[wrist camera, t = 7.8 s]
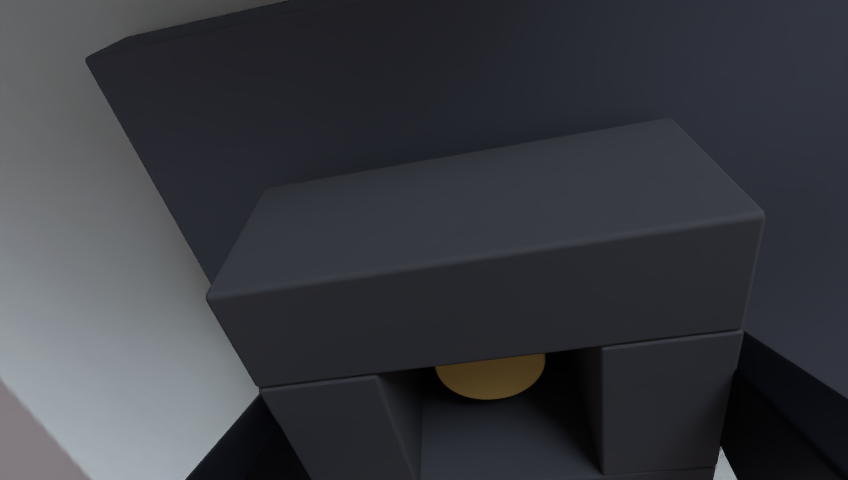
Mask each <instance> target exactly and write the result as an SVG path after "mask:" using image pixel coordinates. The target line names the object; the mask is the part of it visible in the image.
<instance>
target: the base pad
mask: <svg viewBox="0 0 848 480" xmlns="http://www.w3.org/2000/svg"><path fill="white" fill-rule="evenodd" d="M85 62H86V64H87V66H88V68H89V69H90V71H91V73H92V75H93V76H94V78H95V80H96V82H97V83H98V85H99V87H100V89H101V91H102V92H103V94H104V96H105V98H106V99H107V101H108V103H109V105H110V106H111V108H112V110H113V112H114V114H115V115H116V117H117V119H118V121H119V122H120V124H121V126H122V128H123V129H124V131H125V133H126V135H127V137H128V138H129V140H130V142H131V144H132V145H133V147H134V149H135V151H136V152H137V154H138V156H139V158H140V160H141V161H142V163H143V165H144V167H145V168H146V170H147V172H148V174H149V175H150V177H151V179H152V181H153V183H154V184H155V186H156V188H157V190H158V191H159V193H160V195H161V197H162V198H163V200H164V202H165V204H166V206H167V207H168V209H169V211H170V213H171V214H172V216H173V218H174V220H175V221H176V223H177V225H178V227H179V229H180V230H181V232H182V234H183V236H184V237H185V239H186V241H187V243H188V244H189V246H190V248H191V250H192V252H193V253H194V255H195V257H196V259H197V260H198V262H199V264H200V266H201V267H202V269H203V271H204V273H205V274H206V276H207V278H208V280H209V282H210V283H211V285H212V283H213V281H214V279H215V278H216V276H217V274H218V272H219V270H220V269H221V267H222V265H223V263H224V262H225V260H226V258H227V256H228V254H229V253H230V251H231V249H232V247H233V246H234V244H235V242H236V240H237V238H238V237H239V235H240V233H241V231H242V230H243V228H244V226H245V224H246V222H247V221H248V219H249V217H250V215H251V213H252V212H253V210H254V208H255V206H256V205H257V203H258V201H259V199H260V197H261V196H262V194H263V192H264V190H266V189H267V188H271V187H277V186H282V185H288V184H294V183H299V182H305V181H311V180H317V179H322V178H328V177H334V176H339V175H345V174H351V173H357V172H362V171H368V170H374V169H379V168H385V167H391V166H396V165H402V164H408V163H414V162H419V161H425V160H431V159H436V158H442V157H448V156H454V155H459V154H465V153H471V152H476V151H482V150H488V149H493V148H499V147H505V146H511V145H516V144H522V143H528V142H533V141H539V140H545V139H551V138H556V137H562V136H568V135H573V134H579V133H585V132H590V131H596V130H602V129H608V128H613V127H619V126H625V125H630V124H636V123H642V122H648V121H653V120H659V119H665V118H670V119H673V120H674V121H675V122H676V123H677V124H678V125H679V126H680V127H681V128H682V129H683V130H684V131H685V132H686V133H687V134H688V135H689V136H690V137H691V138H692V139H693V141H694V142H695V143H696V144H697V145H698V146H699V147H700V148H701V149H702V150H703V151H704V152H705V153H706V154H707V155H708V156H709V157H710V158H711V159H712V160H713V161H714V162H715V163H716V164H717V165H718V166H719V167H720V168H721V169H722V170H723V171H724V172H725V173H726V174H727V175H728V176H729V177H730V178H731V179H732V180H733V181H734V182H735V183H736V184H737V185H738V186H739V187H740V188H741V189H742V190H743V191H744V192H745V193H746V194H747V195H748V196H749V197H750V198H751V199H752V200H753V201H754V202H755V203H756V204H757V205H758V206H759V207H760V208H761V209H762V210H763V211H764V214H765V218H766V219H765V224H764V229H763V234H762V239H761V244H760V249H759V254H758V258H757V263H756V268H755V273H754V278H753V283H752V288H751V293H750V298H749V303H748V308H747V313H746V318H745V322H744V326H743V327H742V330H744V331H745V332H747V333H748V334H750V335H751V336H753V337H754V338H756V339H757V340H759V341H761V342H762V343H764V344H765V345H767V346H768V347H770V348H771V349H773V350H774V351H776V352H777V353H779V354H780V355H782V356H783V357H785V358H786V359H788V360H790V361H791V362H793V363H794V364H796V365H797V366H799V367H800V368H802V369H803V370H805V371H806V372H808V373H809V374H811V375H812V376H814V377H815V378H817V379H818V380H820V381H822V382H823V383H825V384H826V385H828V386H829V387H831V388H832V389H834V390H835V391H837V392H838V393H840V394H841V395H843V396H844V397H846V398H847V399H848V0H288V1H284V2H279V3H275V4H271V5H266V6H262V7H257V8H253V9H249V10H244V11H240V12H235V13H231V14H226V15H222V16H218V17H213V18H209V19H204V20H200V21H196V22H191V23H187V24H182V25H178V26H173V27H169V28H165V29H160V30H156V31H151V32H147V33H143V34H138V35H134V36H129V37H126V38H124V39H122V40H120V41H118V42H116V43H114V44H112V45H110V46H108V47H106V48H104V49H102V50H100V51H98V52H96V53H94V54H92V55H90V56H88V57H87V58H86V59H85ZM544 366H545V353H543V354H535V355H526V356H518V357H510V358H502V359H493V360H485V361H477V362H469V363H461V364H452V365H444V366H436V367H435V370H436V372H437V375H438V376H439V378H440V380H441V381H442V382H443V383H444V384H445V385H446V386H447V387H448V388H449V389H451V390H452V391H454V392H456V393H458V394H460V395H463V396H466V397H469V398H474V399H482V400H492V399H501V398H506V397H510V396H513V395H516V394H518V393H520V392H522V391H524V390H526V389H527V388H529V387H530V386H531V385H533V384H534V383H535V382H536V381H537V379H538V378H539V377H540V375H541V373H542V371H543V369H544Z"/></svg>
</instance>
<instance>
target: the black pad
mask: <svg viewBox="0 0 848 480" xmlns="http://www.w3.org/2000/svg"><path fill="white" fill-rule="evenodd" d="M765 219H766V218H765V214H764V211H763V210H762V209H761V208H760V207H759V206H758V205H757V204H756V203H755V202H754V201H753V200H752V199H751V198H750V197H749V196H748V195H747V194H746V193H745V192H744V191H743V190H742V189H741V188H740V187H739V186H738V185H737V184H736V183H735V182H734V181H733V180H732V179H731V178H730V177H729V176H728V175H727V174H726V173H725V172H724V171H723V170H722V169H721V168H720V167H719V166H718V165H717V164H716V163H715V162H714V161H713V160H712V159H711V158H710V157H709V156H708V155H707V154H706V153H705V152H704V151H703V150H702V149H701V148H700V147H699V146H698V145H697V144H696V143H695V142H694V141H693V139H692V138H691V137H690V136H689V135H688V134H687V133H686V132H685V131H684V130H683V129H682V128H681V127H680V126H679V125H678V124H677V123H676V122H675V121H674V120H673V119H670V118H665V119H659V120H653V121H648V122H642V123H636V124H630V125H625V126H619V127H613V128H608V129H602V130H596V131H590V132H585V133H579V134H573V135H568V136H562V137H556V138H551V139H545V140H539V141H533V142H528V143H522V144H516V145H511V146H505V147H499V148H493V149H488V150H482V151H476V152H471V153H465V154H459V155H454V156H448V157H442V158H436V159H431V160H425V161H419V162H414V163H408V164H402V165H396V166H391V167H385V168H379V169H374V170H368V171H362V172H357V173H351V174H345V175H339V176H334V177H328V178H322V179H317V180H311V181H305V182H299V183H294V184H288V185H282V186H277V187H271V188H267V189H266V190H264V192H263V194H262V196H261V197H260V199H259V201H258V203H257V205H256V206H255V208H254V210H253V212H252V213H251V215H250V217H249V219H248V221H247V222H246V224H245V226H244V228H243V230H242V231H241V233H240V235H239V237H238V238H237V240H236V242H235V244H234V246H233V247H232V249H231V251H230V253H229V254H228V256H227V258H226V260H225V262H224V263H223V265H222V267H221V269H220V270H219V272H218V274H217V276H216V278H215V279H214V281H213V283H212V285H211V286H210V288H209V290H208V292H207V294H206V301H207V303H208V304H209V306H210V308H211V310H212V311H213V313H214V315H215V316H216V318H217V320H218V322H219V323H220V325H221V327H222V328H223V330H224V332H225V334H226V335H227V337H228V339H229V340H230V342H231V344H232V346H233V347H234V349H235V351H236V352H237V354H238V356H239V358H240V359H241V361H242V363H243V364H244V366H245V368H246V370H247V371H248V373H249V375H250V376H251V378H252V380H253V382H254V383H255V385H256V386H257V387H259V392H260V394H261V396H262V398H263V400H264V401H265V403H266V405H267V406H268V408H269V410H270V412H271V413H272V415H273V417H274V418H275V420H276V421H277V422H278V423H279V425H280V427H281V429H282V430H283V432H284V434H285V435H286V437H287V439H288V441H289V442H290V444H291V446H292V447H293V449H294V451H295V453H296V454H297V456H298V458H299V459H300V461H301V463H302V465H303V466H304V468H305V470H306V471H307V473H308V475H309V477H310V478H311V480H713V478H714V473H715V465H716V464H717V461H718V456H719V451H720V446H721V445H720V439H721V434H722V429H723V424H724V419H725V414H726V409H727V404H728V399H729V394H730V389H731V384H732V379H733V374H734V371H735V370H736V368H737V364H738V359H739V354H740V349H741V344H742V339H743V334H744V332H743V330H742V327H743V326H744V322H745V318H746V313H747V308H748V303H749V298H750V293H751V288H752V283H753V278H754V273H755V268H756V263H757V258H758V254H759V249H760V244H761V239H762V234H763V229H764V224H765ZM543 353H545V366H544V369H543V371H542V373H541V375H540V377H539V378H538V379H537V381H536V382H535V383H534V384H533V385H531V386H530V387H529V388H527V389H526V390H524V391H522V392H520V393H518V394H516V395H513V396H510V397H506V398H501V399H492V400H482V399H474V398H469V397H466V396H463V395H460V394H458V393H456V392H454V391H452V390H451V389H449V388H448V387H447V386H446V385H445V384H444V383H443V382H442V381H441V380H440V378H439V376H438V375H437V372H436V370H435V367H436V366H444V365H452V364H461V363H469V362H477V361H485V360H493V359H502V358H510V357H518V356H526V355H535V354H543Z"/></svg>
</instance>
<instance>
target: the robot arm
mask: <svg viewBox="0 0 848 480" xmlns="http://www.w3.org/2000/svg"><path fill="white" fill-rule="evenodd" d="M743 332H744V334H743V339H742V344H741V349H740V354H739V359H738V364H737V368H736V370H735V371H734V374H733V379H732V384H731V389H730V394H729V399H728V404H727V409H726V414H725V419H724V424H723V429H722V434H721V439H720V445H721V447H722V449H723V452H724V454H725V456H726V458H727V460H728V462H729V464H730V466H731V468H732V470H733V472H734V474H735V476H736V478H737V480H848V399H847V398H846V397H844V396H843V395H841V394H840V393H838V392H837V391H835V390H834V389H832V388H831V387H829V386H828V385H826V384H825V383H823V382H822V381H820V380H818V379H817V378H815V377H814V376H812V375H811V374H809V373H808V372H806V371H805V370H803V369H802V368H800V367H799V366H797V365H796V364H794V363H793V362H791V361H790V360H788V359H786V358H785V357H783V356H782V355H780V354H779V353H777V352H776V351H774V350H773V349H771V348H770V347H768V346H767V345H765V344H764V343H762V342H761V341H759V340H757V339H756V338H754V337H753V336H751V335H750V334H748V333H747V332H745V331H744V330H743ZM185 480H311V478H310V477H309V475H308V473H307V471H306V470H305V468H304V466H303V465H302V463H301V461H300V459H299V458H298V456H297V454H296V453H295V451H294V449H293V447H292V446H291V444H290V442H289V441H288V439H287V437H286V435H285V434H284V432H283V430H282V429H281V427H280V425H279V423H278V422H277V421H276V420H275V418H274V417H273V415H272V413H271V412H270V410H269V408H268V406H267V405H266V403H265V401H264V400H263V398H262V396H261V394H259V395H258V396H257V397H256V398H255V400H254V401H253V402H252V403H251V404H250V405H249V407H248V408H247V409H246V410H245V411H244V412H243V413H242V415H241V416H240V417H239V418H238V419H237V420H236V422H235V423H234V424H233V425H232V426H231V427H230V429H229V430H228V431H227V432H226V433H225V434H224V435H223V437H222V438H221V439H220V440H219V441H218V442H217V444H216V445H215V446H214V447H213V448H212V449H211V450H210V452H209V453H208V454H207V455H206V456H205V457H204V459H203V460H202V461H201V462H200V463H199V464H198V466H197V467H196V468H195V469H194V470H193V471H192V472H191V474H190V475H189V476H188V477H187V478H186V479H185Z"/></svg>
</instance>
